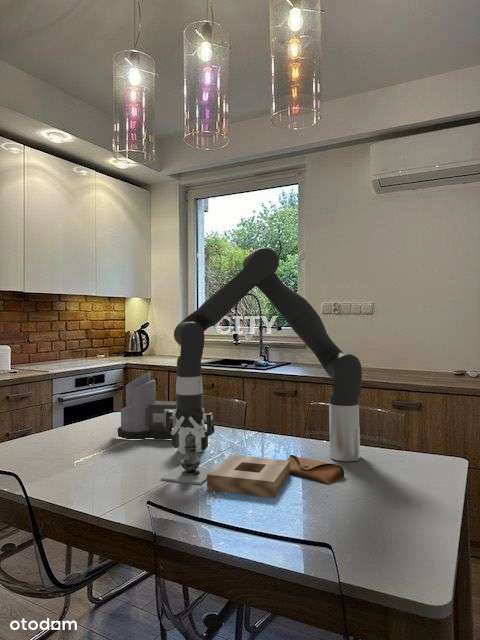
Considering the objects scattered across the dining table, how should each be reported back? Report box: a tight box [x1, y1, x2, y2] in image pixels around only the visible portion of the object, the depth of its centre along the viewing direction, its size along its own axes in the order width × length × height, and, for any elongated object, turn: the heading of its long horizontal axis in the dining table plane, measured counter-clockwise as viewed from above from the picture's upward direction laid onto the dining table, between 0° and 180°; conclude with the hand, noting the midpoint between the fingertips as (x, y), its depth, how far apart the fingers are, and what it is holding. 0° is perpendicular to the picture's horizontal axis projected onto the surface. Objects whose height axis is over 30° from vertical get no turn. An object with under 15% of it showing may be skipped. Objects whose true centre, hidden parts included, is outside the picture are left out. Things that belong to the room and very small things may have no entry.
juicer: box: [117, 371, 177, 439], centre depth 177 cm, size 30×16×24 cm, turn 80°
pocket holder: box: [206, 454, 291, 499], centre depth 126 cm, size 18×18×4 cm
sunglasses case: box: [286, 454, 345, 485], centre depth 132 cm, size 18×7×7 cm
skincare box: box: [176, 407, 206, 456], centre depth 155 cm, size 8×6×15 cm
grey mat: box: [160, 464, 215, 486], centre depth 131 cm, size 12×12×1 cm
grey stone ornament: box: [179, 431, 202, 476], centre depth 131 cm, size 6×6×12 cm
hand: (189, 448), depth 131 cm, fingers open, 8 cm apart
